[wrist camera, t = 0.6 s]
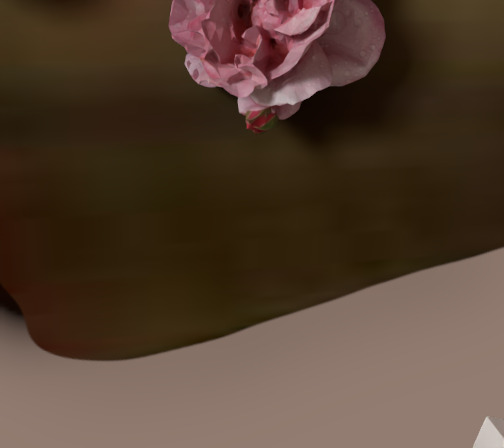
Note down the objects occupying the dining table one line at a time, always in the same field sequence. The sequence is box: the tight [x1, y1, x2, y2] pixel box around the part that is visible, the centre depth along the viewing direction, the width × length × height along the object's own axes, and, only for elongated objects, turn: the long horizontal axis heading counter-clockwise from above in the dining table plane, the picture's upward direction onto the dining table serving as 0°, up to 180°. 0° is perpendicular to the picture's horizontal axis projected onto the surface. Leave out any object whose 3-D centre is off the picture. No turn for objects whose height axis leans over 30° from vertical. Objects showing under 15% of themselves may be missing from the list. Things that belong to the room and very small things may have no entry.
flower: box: [169, 0, 386, 135], centre depth 27 cm, size 15×15×10 cm
